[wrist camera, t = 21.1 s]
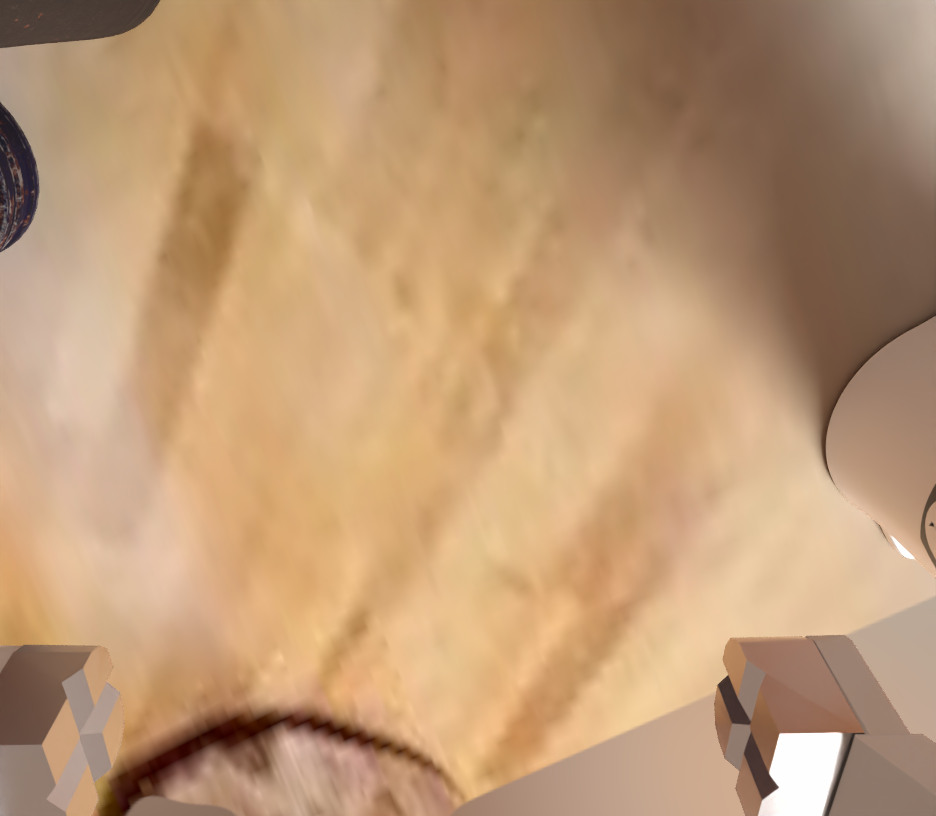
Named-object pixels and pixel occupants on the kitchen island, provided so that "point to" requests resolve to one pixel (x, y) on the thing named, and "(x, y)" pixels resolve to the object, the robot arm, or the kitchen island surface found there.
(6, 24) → the container
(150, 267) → the kitchen island surface
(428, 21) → the kitchen island surface
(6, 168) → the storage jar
